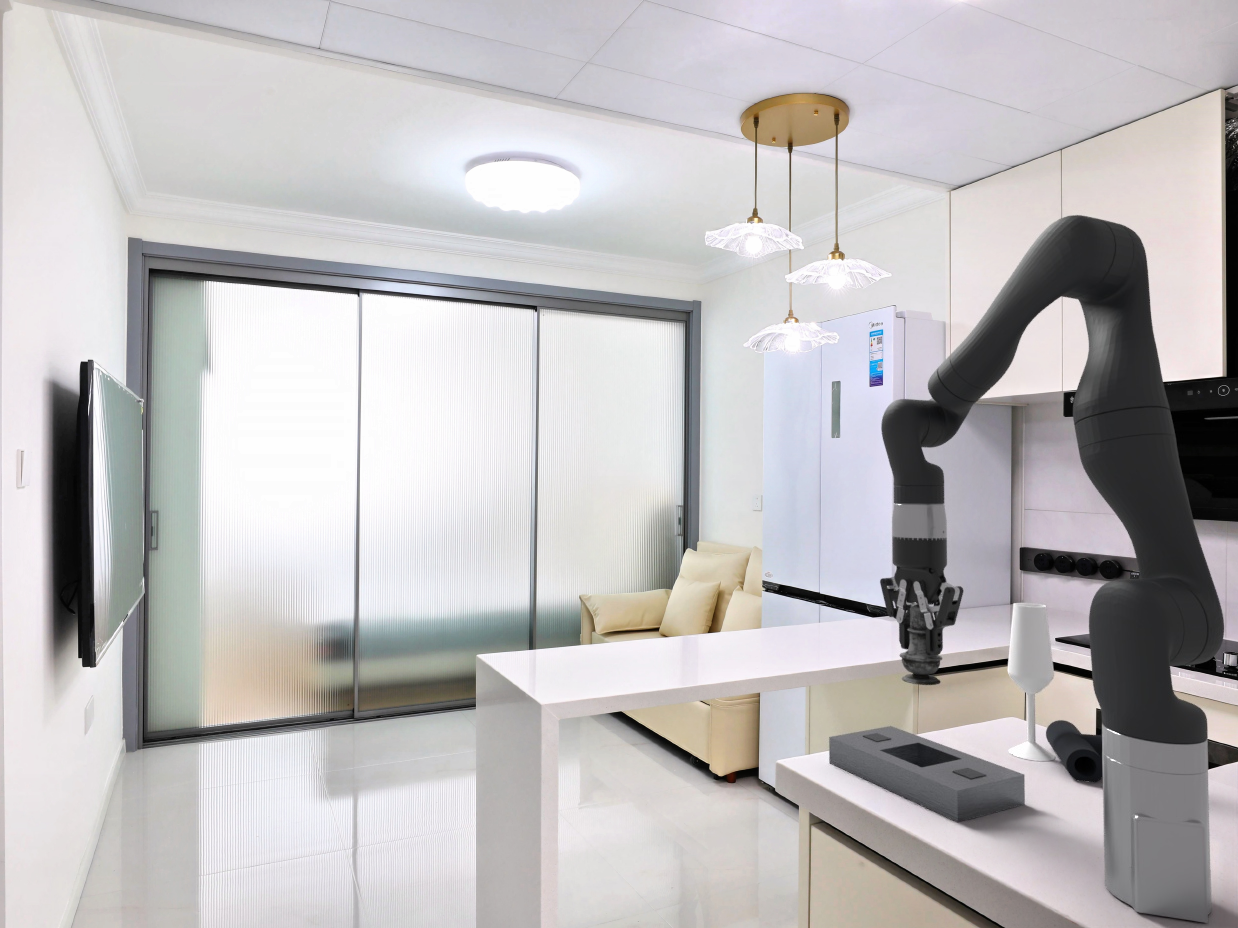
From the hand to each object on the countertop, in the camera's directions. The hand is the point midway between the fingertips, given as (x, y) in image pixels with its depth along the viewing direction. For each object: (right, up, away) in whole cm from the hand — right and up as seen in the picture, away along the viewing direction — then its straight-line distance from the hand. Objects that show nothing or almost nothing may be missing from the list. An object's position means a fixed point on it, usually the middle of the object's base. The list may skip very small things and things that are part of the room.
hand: (920, 650), depth 114 cm
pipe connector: (+30, -20, +6) cm, 36 cm away
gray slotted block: (0, -19, -1) cm, 19 cm away
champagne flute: (+23, -20, +12) cm, 32 cm away
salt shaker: (0, -5, 0) cm, 5 cm away
